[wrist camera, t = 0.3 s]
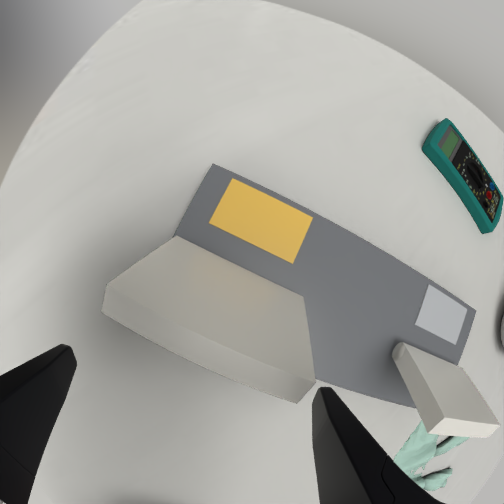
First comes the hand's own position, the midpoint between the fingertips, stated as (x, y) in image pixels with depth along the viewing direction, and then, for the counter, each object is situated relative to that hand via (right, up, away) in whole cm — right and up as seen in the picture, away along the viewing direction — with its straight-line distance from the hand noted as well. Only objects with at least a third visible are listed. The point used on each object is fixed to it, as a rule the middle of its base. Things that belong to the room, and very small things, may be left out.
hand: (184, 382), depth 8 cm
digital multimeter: (+30, +14, +19) cm, 38 cm away
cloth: (+28, -25, +15) cm, 41 cm away
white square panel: (+1, +3, +12) cm, 12 cm away
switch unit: (+10, -1, +15) cm, 18 cm away
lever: (+19, -6, +13) cm, 24 cm away
